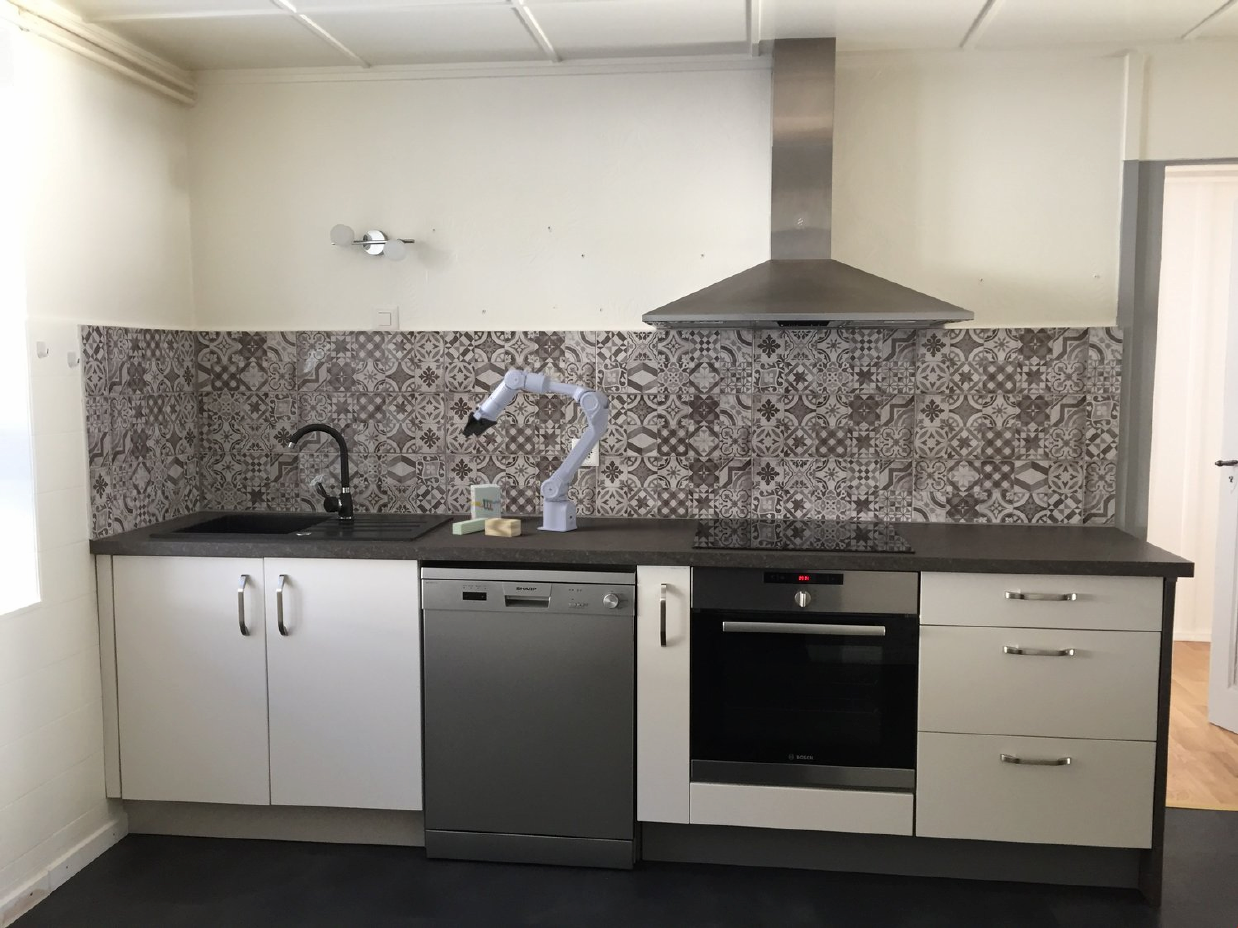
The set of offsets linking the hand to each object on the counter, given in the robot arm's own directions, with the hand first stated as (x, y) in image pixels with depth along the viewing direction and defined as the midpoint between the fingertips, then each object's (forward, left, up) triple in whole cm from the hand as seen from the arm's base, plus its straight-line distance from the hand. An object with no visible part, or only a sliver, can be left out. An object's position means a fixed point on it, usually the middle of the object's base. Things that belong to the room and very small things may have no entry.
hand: (469, 434), depth 300 cm
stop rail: (-6, +8, -28) cm, 30 cm away
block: (-18, +9, -28) cm, 35 cm away
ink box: (+1, -9, -28) cm, 30 cm away
